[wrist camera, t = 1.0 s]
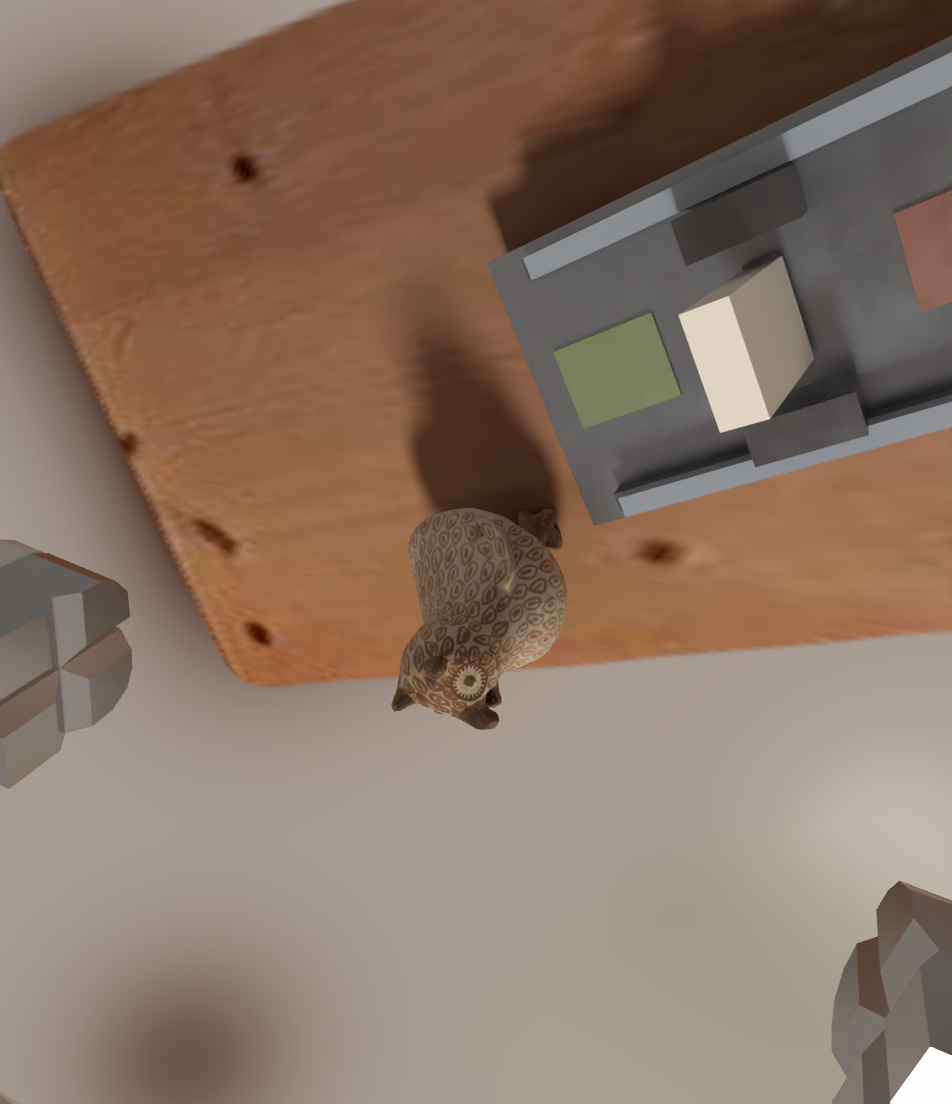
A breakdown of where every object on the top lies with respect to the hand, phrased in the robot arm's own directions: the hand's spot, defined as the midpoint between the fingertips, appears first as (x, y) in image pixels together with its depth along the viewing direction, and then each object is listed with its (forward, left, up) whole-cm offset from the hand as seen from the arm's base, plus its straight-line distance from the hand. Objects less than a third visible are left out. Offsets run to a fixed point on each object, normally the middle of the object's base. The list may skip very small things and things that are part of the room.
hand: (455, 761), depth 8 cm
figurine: (+18, +9, -35) cm, 41 cm away
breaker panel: (0, +1, -35) cm, 35 cm away
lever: (0, +1, -31) cm, 31 cm away
